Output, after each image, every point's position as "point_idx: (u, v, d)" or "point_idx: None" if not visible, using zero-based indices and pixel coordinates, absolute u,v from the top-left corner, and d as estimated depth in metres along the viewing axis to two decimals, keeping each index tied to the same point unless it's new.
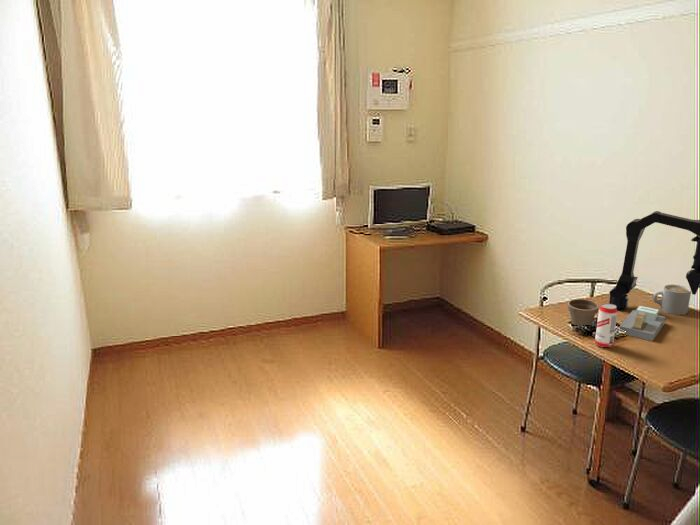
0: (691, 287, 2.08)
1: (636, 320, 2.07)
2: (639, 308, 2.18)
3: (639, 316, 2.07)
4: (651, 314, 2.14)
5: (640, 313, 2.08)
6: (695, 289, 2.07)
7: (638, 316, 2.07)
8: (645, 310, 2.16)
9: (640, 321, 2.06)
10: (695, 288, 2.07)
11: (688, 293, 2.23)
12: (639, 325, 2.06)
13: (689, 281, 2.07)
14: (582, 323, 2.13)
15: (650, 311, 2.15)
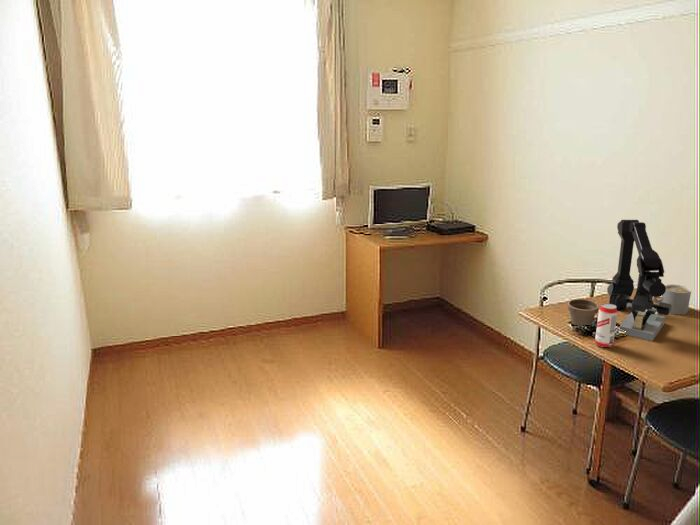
0: None
1: (636, 320, 2.07)
2: None
3: (639, 316, 2.07)
4: (651, 314, 2.14)
5: (640, 313, 2.08)
6: None
7: (638, 316, 2.07)
8: None
9: (640, 321, 2.06)
10: None
11: (688, 293, 2.23)
12: (639, 325, 2.06)
13: None
14: (582, 323, 2.13)
15: None
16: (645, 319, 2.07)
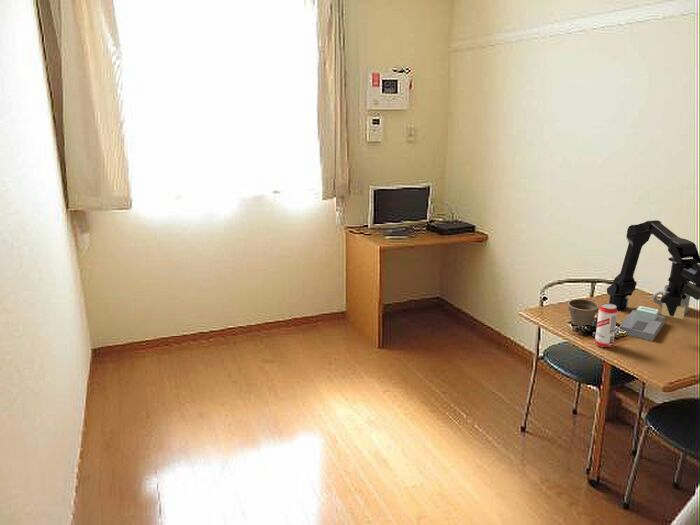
0: (669, 308, 1.98)
1: (684, 310, 1.97)
2: (639, 308, 2.18)
3: (681, 305, 1.97)
4: (651, 314, 2.14)
5: None
6: (673, 311, 1.98)
7: (681, 306, 1.97)
8: (645, 310, 2.16)
9: (684, 309, 1.98)
10: (673, 310, 1.97)
11: None
12: None
13: None
14: (582, 323, 2.13)
15: (650, 311, 2.15)
16: None
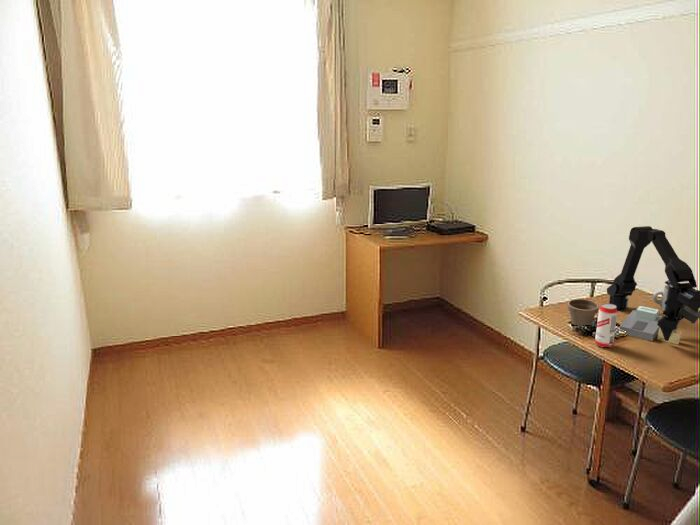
0: (664, 333, 1.99)
1: (679, 336, 2.00)
2: (639, 308, 2.18)
3: (676, 332, 2.01)
4: (651, 314, 2.14)
5: None
6: (668, 335, 1.99)
7: (677, 332, 2.00)
8: (645, 310, 2.16)
9: (680, 335, 2.01)
10: (667, 334, 1.99)
11: None
12: (679, 339, 2.01)
13: (661, 327, 1.99)
14: (582, 323, 2.13)
15: (650, 311, 2.15)
16: None
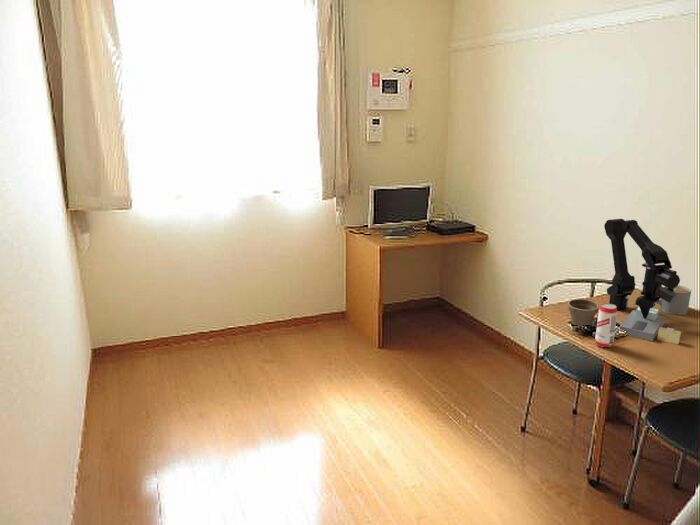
0: (642, 311, 2.15)
1: (679, 336, 2.00)
2: (639, 308, 2.18)
3: (676, 332, 2.01)
4: (651, 314, 2.14)
5: (670, 329, 2.02)
6: (646, 313, 2.14)
7: (677, 332, 2.00)
8: None
9: (680, 335, 2.01)
10: (646, 312, 2.14)
11: (688, 293, 2.23)
12: (679, 339, 2.01)
13: (640, 305, 2.14)
14: (582, 323, 2.13)
15: (650, 311, 2.15)
16: None
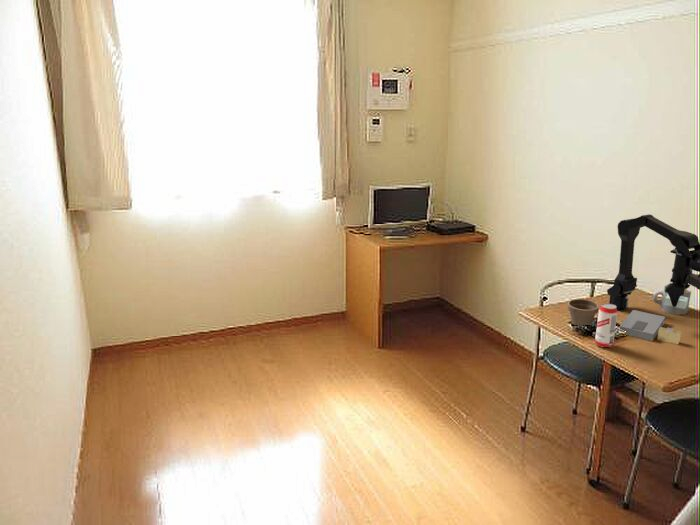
0: (672, 299, 2.06)
1: (679, 336, 2.00)
2: (668, 296, 2.09)
3: (676, 332, 2.01)
4: (681, 302, 2.05)
5: (670, 329, 2.02)
6: (675, 301, 2.05)
7: (677, 332, 2.00)
8: None
9: (680, 335, 2.01)
10: (675, 300, 2.05)
11: (688, 293, 2.23)
12: (679, 339, 2.01)
13: (669, 293, 2.05)
14: (582, 323, 2.13)
15: (680, 299, 2.06)
16: None
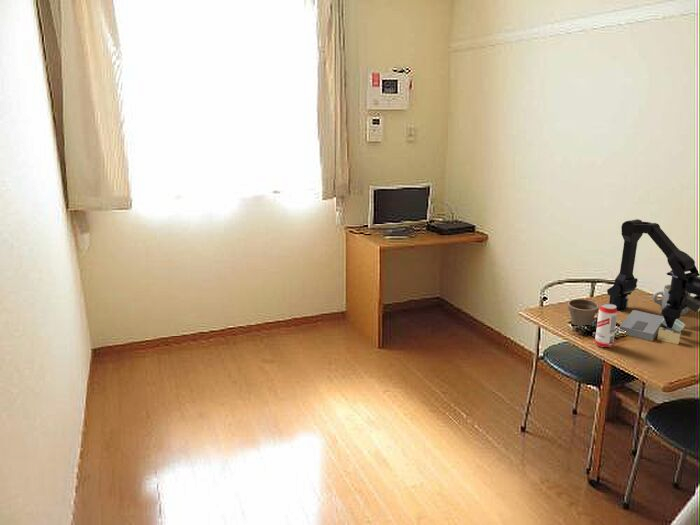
0: (667, 322, 2.07)
1: (679, 336, 2.00)
2: None
3: (676, 332, 2.01)
4: (678, 327, 2.08)
5: (670, 329, 2.02)
6: (671, 324, 2.07)
7: (677, 332, 2.00)
8: None
9: (680, 335, 2.01)
10: (671, 323, 2.06)
11: (688, 293, 2.23)
12: (679, 339, 2.01)
13: (665, 316, 2.06)
14: (582, 323, 2.13)
15: (678, 324, 2.09)
16: None
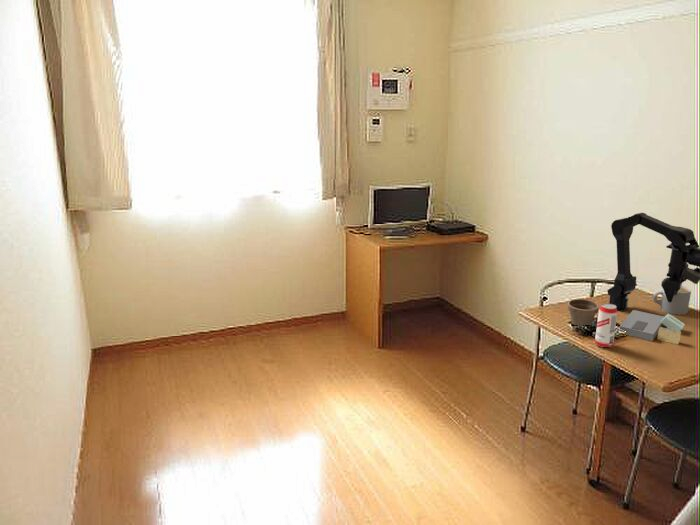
0: (667, 295, 2.07)
1: (679, 336, 2.00)
2: (667, 316, 2.11)
3: (676, 332, 2.01)
4: (677, 327, 2.08)
5: (670, 329, 2.02)
6: (671, 297, 2.07)
7: (677, 332, 2.00)
8: (673, 321, 2.10)
9: (680, 335, 2.01)
10: (671, 296, 2.07)
11: (688, 293, 2.23)
12: (679, 339, 2.01)
13: (665, 289, 2.07)
14: (582, 323, 2.13)
15: (677, 323, 2.09)
16: None
